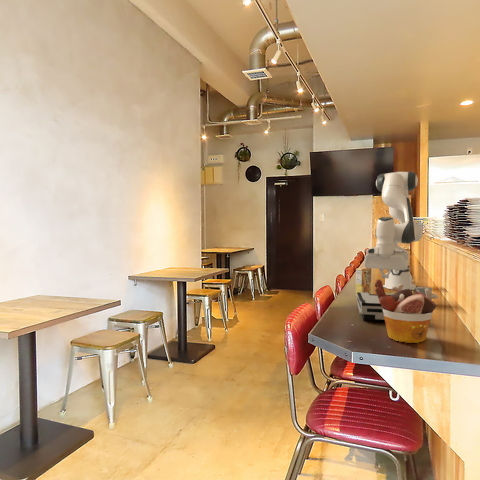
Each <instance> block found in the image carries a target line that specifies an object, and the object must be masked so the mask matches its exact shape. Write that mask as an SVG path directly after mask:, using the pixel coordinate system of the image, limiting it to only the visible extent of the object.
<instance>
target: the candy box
mask: <svg viewBox="0 0 480 480" xmlns="http://www.w3.org/2000/svg"><path fill="white" fill-rule="evenodd" d="M357 292H364V293H369V294H372V268H365V267H358V268H355V298H357Z"/></svg>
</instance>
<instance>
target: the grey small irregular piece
mask: <svg viewBox="0 0 480 480" xmlns="http://www.w3.org/2000/svg"><path fill="white" fill-rule="evenodd" d="M426 288H427V289H430V290H431V294H432V293H433V290H432V289H433V288H432V287H427V286H416V289H415V292H416V291H418V292H421V293H423V294H424V295H426V293H425V289H426ZM431 300H432V301H433V299H431Z"/></svg>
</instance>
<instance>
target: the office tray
mask: <svg viewBox="0 0 480 480" xmlns="http://www.w3.org/2000/svg"><path fill="white" fill-rule="evenodd" d="M392 295H393V293H392ZM388 296H391V295H388ZM356 301H357V308H358V309H357V310H358V313H359V315H361V318H362V321H363V322H368V321H377V322H376V323H379V322H380V320H381V321H382V320H384V321H385V318H384V313H383V309H382V306H381V304H380V303H379V298H378V296H377V294H376V293H375V294H373V293H371V294H369V293H364V292H357V297H356Z"/></svg>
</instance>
